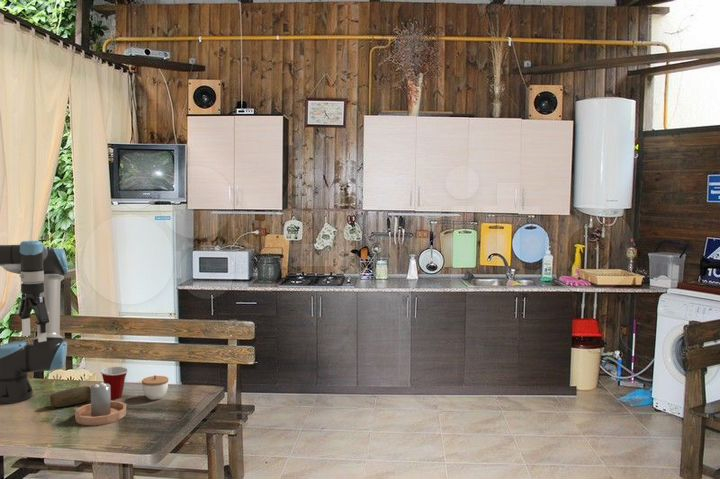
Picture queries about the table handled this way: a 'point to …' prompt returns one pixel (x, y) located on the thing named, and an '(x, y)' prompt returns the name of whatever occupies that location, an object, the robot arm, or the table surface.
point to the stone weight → (70, 397)
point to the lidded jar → (155, 386)
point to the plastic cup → (115, 380)
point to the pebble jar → (100, 399)
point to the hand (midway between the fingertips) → (34, 338)
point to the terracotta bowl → (85, 416)
